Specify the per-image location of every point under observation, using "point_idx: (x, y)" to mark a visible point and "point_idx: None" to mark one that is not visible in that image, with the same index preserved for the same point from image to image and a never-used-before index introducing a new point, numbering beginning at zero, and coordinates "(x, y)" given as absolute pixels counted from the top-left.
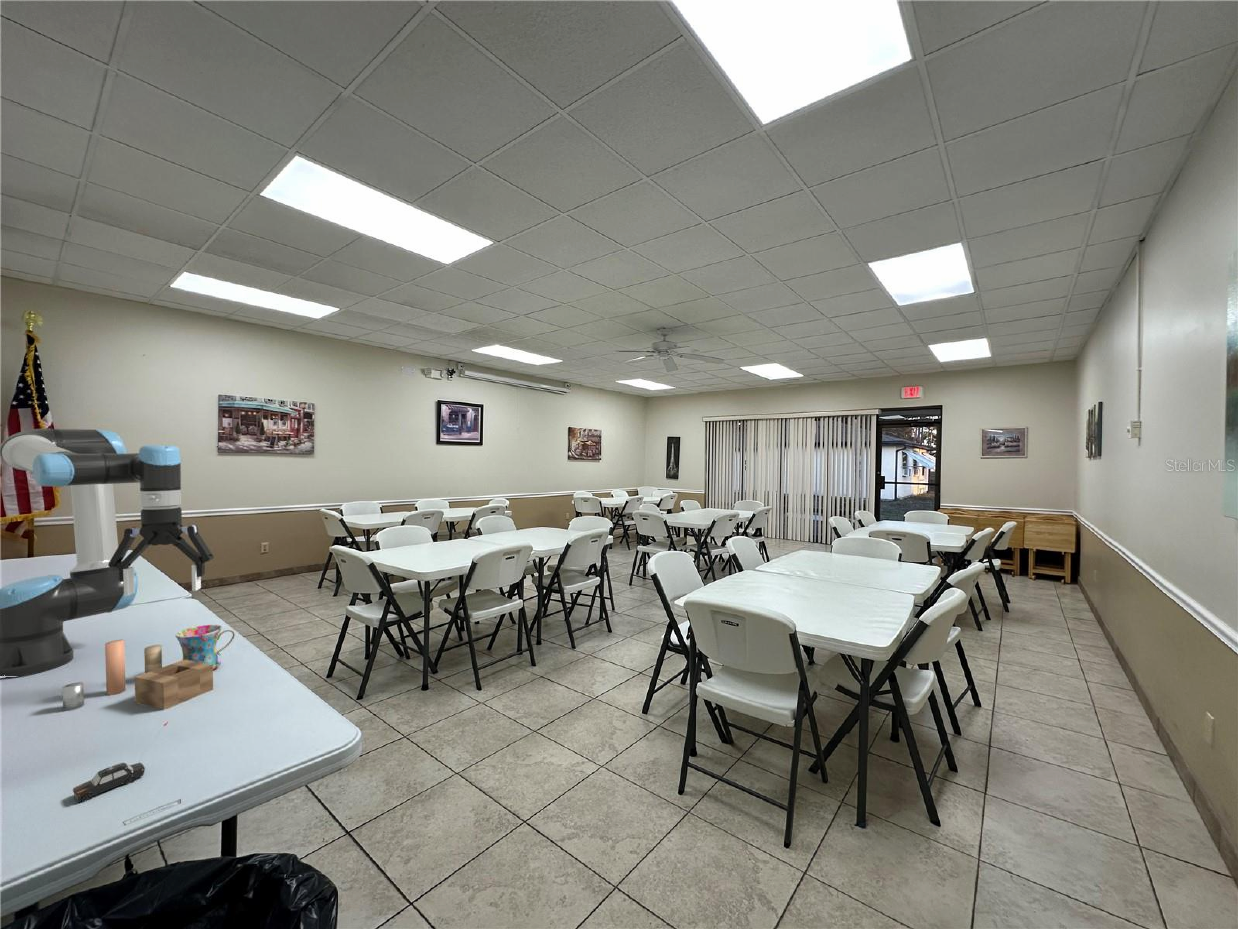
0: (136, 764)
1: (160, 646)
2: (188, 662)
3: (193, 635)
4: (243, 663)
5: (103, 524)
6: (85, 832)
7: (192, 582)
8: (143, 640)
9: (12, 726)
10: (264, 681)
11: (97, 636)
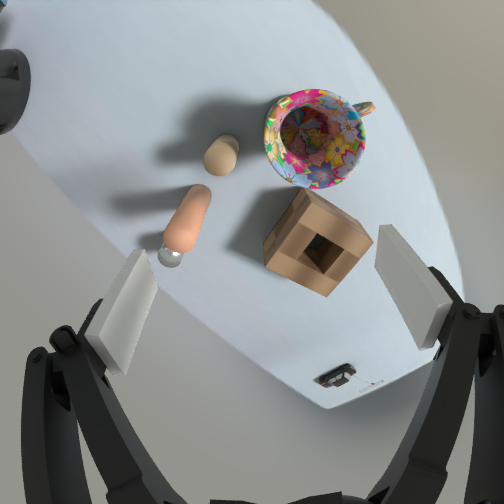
0: (349, 370)
1: (235, 158)
2: (327, 221)
3: (285, 111)
4: None
5: None
6: (343, 395)
7: (389, 289)
8: None
9: None
10: (418, 211)
11: None
